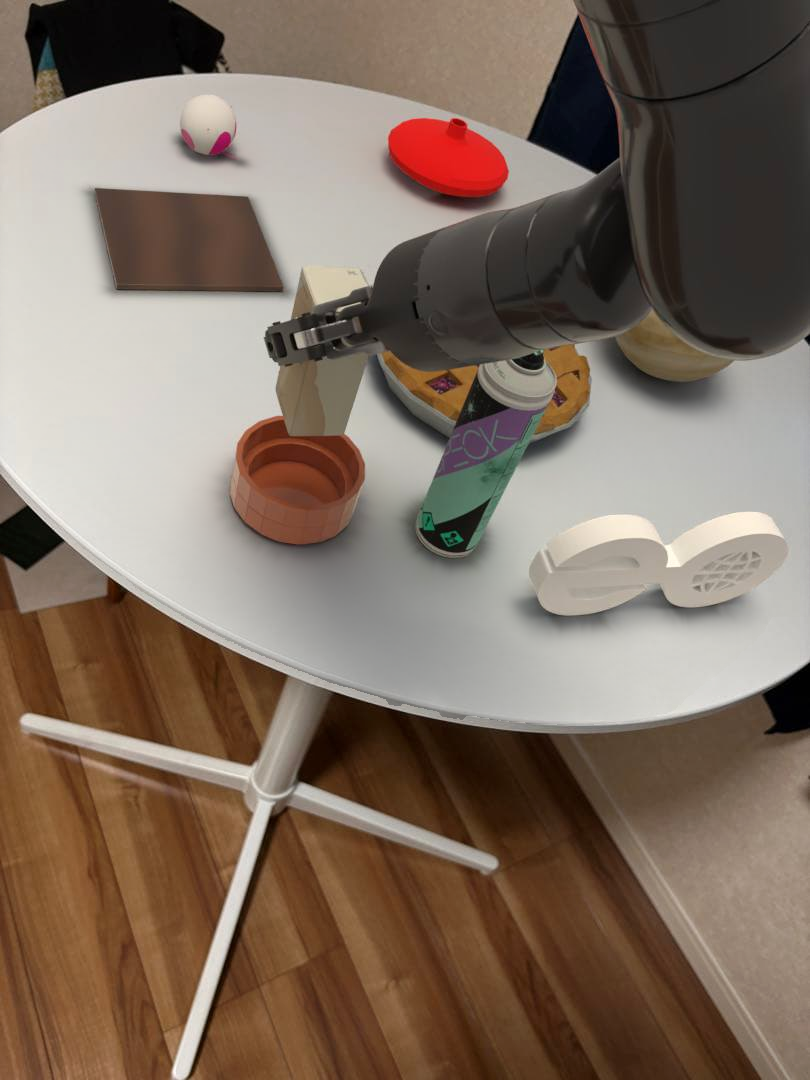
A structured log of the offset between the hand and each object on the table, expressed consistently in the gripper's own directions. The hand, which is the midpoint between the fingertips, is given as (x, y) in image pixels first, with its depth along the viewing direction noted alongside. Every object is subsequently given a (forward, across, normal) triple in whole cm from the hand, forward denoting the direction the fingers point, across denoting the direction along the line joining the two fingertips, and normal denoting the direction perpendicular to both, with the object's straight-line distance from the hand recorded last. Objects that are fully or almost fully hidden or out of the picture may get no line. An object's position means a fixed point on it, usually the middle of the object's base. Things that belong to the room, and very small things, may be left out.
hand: (310, 335), depth 61 cm
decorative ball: (+8, -48, +13) cm, 50 cm away
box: (+3, 0, +6) cm, 6 cm away
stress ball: (+44, -22, -22) cm, 54 cm away
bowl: (+9, 0, +12) cm, 15 cm away
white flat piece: (-6, -20, +28) cm, 35 cm away
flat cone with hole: (+35, -48, -14) cm, 62 cm away
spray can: (+3, -10, +18) cm, 21 cm away
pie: (+13, -25, +9) cm, 29 cm away
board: (+33, -10, -12) cm, 36 cm away
